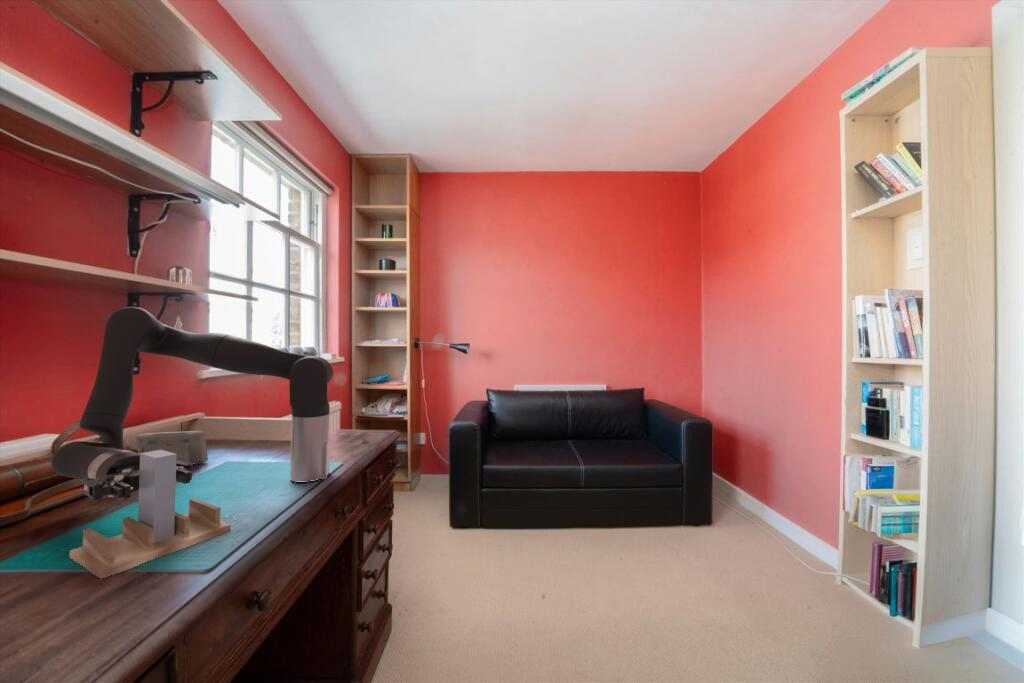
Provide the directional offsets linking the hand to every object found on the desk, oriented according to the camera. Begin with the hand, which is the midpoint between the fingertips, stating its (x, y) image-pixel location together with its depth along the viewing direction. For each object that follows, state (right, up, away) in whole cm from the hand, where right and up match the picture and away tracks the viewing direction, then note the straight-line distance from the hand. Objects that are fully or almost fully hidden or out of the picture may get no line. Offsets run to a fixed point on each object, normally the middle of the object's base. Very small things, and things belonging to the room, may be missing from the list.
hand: (159, 484), depth 70 cm
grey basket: (-36, -11, +43) cm, 57 cm away
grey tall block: (-1, -9, 0) cm, 10 cm away
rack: (-1, -11, 0) cm, 11 cm away
